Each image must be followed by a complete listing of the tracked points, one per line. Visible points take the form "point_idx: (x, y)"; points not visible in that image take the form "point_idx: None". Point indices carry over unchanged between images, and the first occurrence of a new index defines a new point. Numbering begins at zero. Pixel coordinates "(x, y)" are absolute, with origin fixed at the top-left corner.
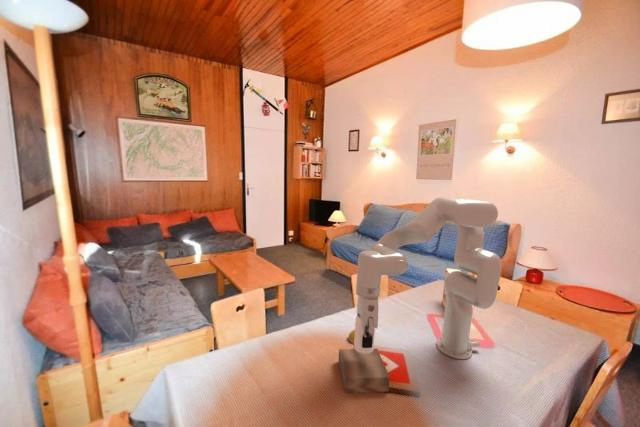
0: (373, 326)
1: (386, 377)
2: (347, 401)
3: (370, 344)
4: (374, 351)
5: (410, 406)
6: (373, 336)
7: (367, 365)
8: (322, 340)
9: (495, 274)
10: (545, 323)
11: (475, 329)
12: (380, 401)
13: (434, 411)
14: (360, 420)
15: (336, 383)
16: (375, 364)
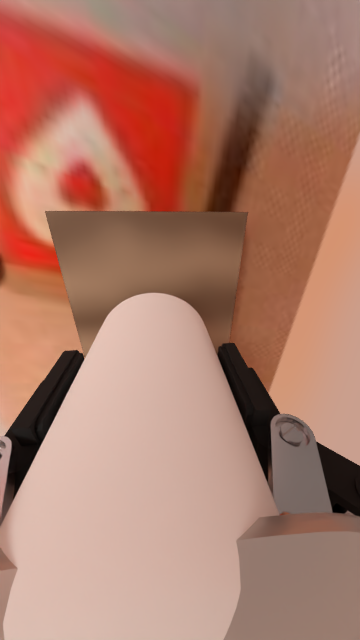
0: (271, 513)
1: (244, 228)
2: (240, 334)
3: (256, 374)
4: (73, 234)
5: (300, 149)
6: (214, 370)
7: (173, 290)
8: (3, 377)
9: None
10: None
11: None
12: (257, 252)
13: (352, 35)
14: (293, 314)
15: None
16: (167, 255)
